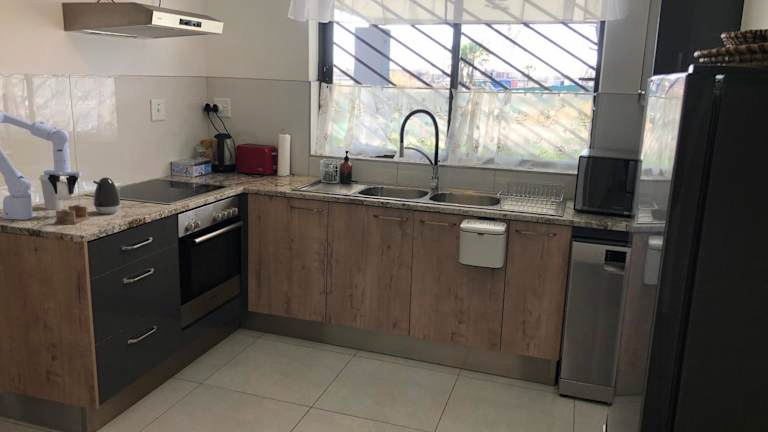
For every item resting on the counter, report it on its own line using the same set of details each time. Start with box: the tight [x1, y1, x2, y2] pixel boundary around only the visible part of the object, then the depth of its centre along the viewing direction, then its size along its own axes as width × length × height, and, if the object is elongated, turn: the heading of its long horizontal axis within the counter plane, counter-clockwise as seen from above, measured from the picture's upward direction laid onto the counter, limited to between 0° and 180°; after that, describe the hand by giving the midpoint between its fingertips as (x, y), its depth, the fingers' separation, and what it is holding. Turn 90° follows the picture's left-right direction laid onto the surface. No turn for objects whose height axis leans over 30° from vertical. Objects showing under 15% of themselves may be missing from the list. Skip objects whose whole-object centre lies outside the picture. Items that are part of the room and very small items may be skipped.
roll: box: [57, 180, 73, 201], centre depth 242 cm, size 5×5×7 cm
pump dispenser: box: [92, 176, 121, 215], centre depth 252 cm, size 10×10×15 cm
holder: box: [54, 204, 90, 226], centre depth 237 cm, size 8×11×6 cm
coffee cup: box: [38, 172, 65, 211], centre depth 257 cm, size 10×10×15 cm
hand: (64, 193), depth 243 cm, fingers closed on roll, 5 cm apart
